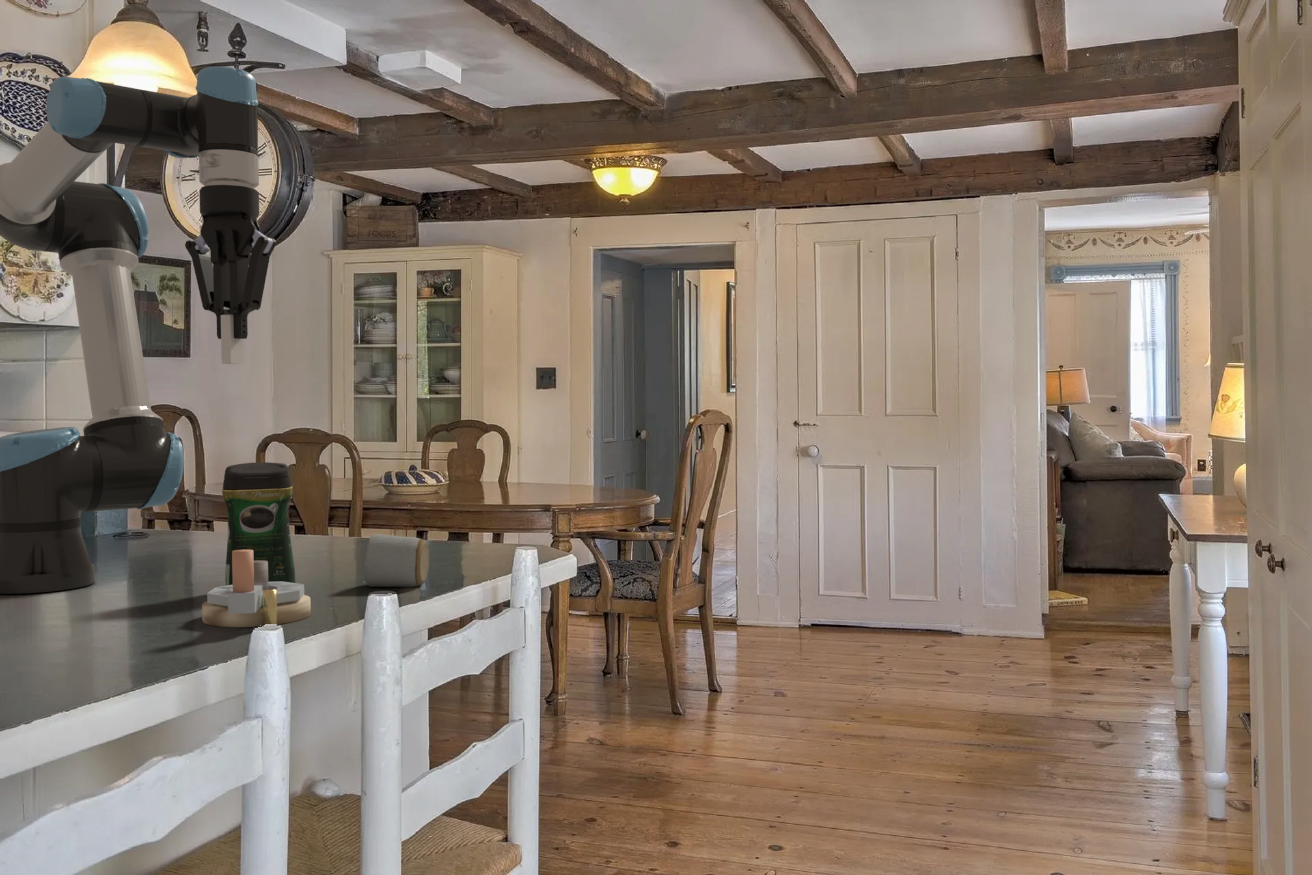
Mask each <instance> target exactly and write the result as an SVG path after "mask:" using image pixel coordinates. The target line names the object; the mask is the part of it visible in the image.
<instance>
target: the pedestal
mask: <svg viewBox="0 0 1312 875" xmlns="http://www.w3.org/2000/svg"><path fill="white" fill-rule="evenodd" d="M254 585H262V592H263V590H265V589H268V561H262V560H259V561H254ZM311 605H312V604H311V597H310V596H309V595H307V594H304V595H303V596H302V597H301V598H300V600H295V601H289V602H284V603H278V604H277V625H285V624H288V623H289V624H290V623H294V622H297V621H301V620H303V619H304V620H305V619H307V618H308V617H310V616H311V615H312V614H311V612H312V608H311ZM201 615H202V618H201V619H202V620H201V621H202V623H204V624H205V625H208V626H214V627H220V628H221V627H222V628H253V627H254V628H256V627H255V626H257V627H261V626H260V625H264V622H263V605H262V606H261V607H260V608H259V609H258V610H257V611H256V612H255V613H238V614H228V606H223V605H217V604H211V603H207V600H206V601H204V602H202V604H201Z"/></svg>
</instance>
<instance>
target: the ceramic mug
mask: <svg viewBox="0 0 1312 875" xmlns="http://www.w3.org/2000/svg"><path fill="white" fill-rule="evenodd" d="M428 545H429V544H428V543H427V542H426V541H425V539H422V538H419V537H414V536H400V535H392V534H391V535H389V534H379V533H376V534H375V533H374V534H373V533H372V534H371V536H370V537H369V540H368V541H367V545H366V550H365V556H364V573H365V574H364V576H365V581H366V583H367V585H368V586H369V587H372V588H373V587H374V588H375V587H377V588H379V587H381V588H382V587H383V588H387V587H388V588H393V587H400V588H403V587H404V588H411V587H412V588H413V587H420V586H422V585H423V584H424V583H425V582H426V580H427V576H428V572H429V566H430V553H429V552H430V550H429V546H428Z"/></svg>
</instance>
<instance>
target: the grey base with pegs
mask: <svg viewBox="0 0 1312 875" xmlns="http://www.w3.org/2000/svg"><path fill="white" fill-rule="evenodd" d="M232 576H233V585H227V586H225V585H221V586H216V587H214V588H212V589H211V590H210V591H208V592H206V596H207V597H206V598H207V600H206V601H207V603H211V604H217V605H223V606H228V614H238V613H255V612H256V611H257V610H258V609H259V608H260V607H261V606H262V605H263V592H262V585H254V556H253V550H234V551H232ZM268 589H277V604H278V603H284V602H289V601H295V600H300V598H301V597H302V596H303V595H305V584H303V583H297V582H295V583H290V582H283V581H278V582H268Z"/></svg>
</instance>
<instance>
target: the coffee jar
mask: <svg viewBox="0 0 1312 875" xmlns="http://www.w3.org/2000/svg"><path fill="white" fill-rule="evenodd" d="M223 475H224V476H223V484H222V490H221V494H222V498H223V501H224V503H225V505H226V509H227V510H226V512H227V545H226V559H225V574H224V575H225V576H224V577H225V578H224V581H225V582H224V583H225V584H224V586H227V585H233V576H232V551H234V550H253V556H254V561H259V560H262V561H268V582H278V581H283V582H290V583H296V570H295V569H296V568H295V562H294V561H295V560H294V554H293V547H292V540H291V531H290V519H289V518H290V517H289V508H290V507H289V505H290V501H291V499H292V496H293V483H292V477H291V474H290V468H289V465H287V464H286V463H283V462H282V463H281V462H280V463H279V462H268V461H267V462H263V461H262V462H259V461H258V462H257V461H256V462H245V463H237V464H231V465H228V466H226V468H225V470H224V474H223Z"/></svg>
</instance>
